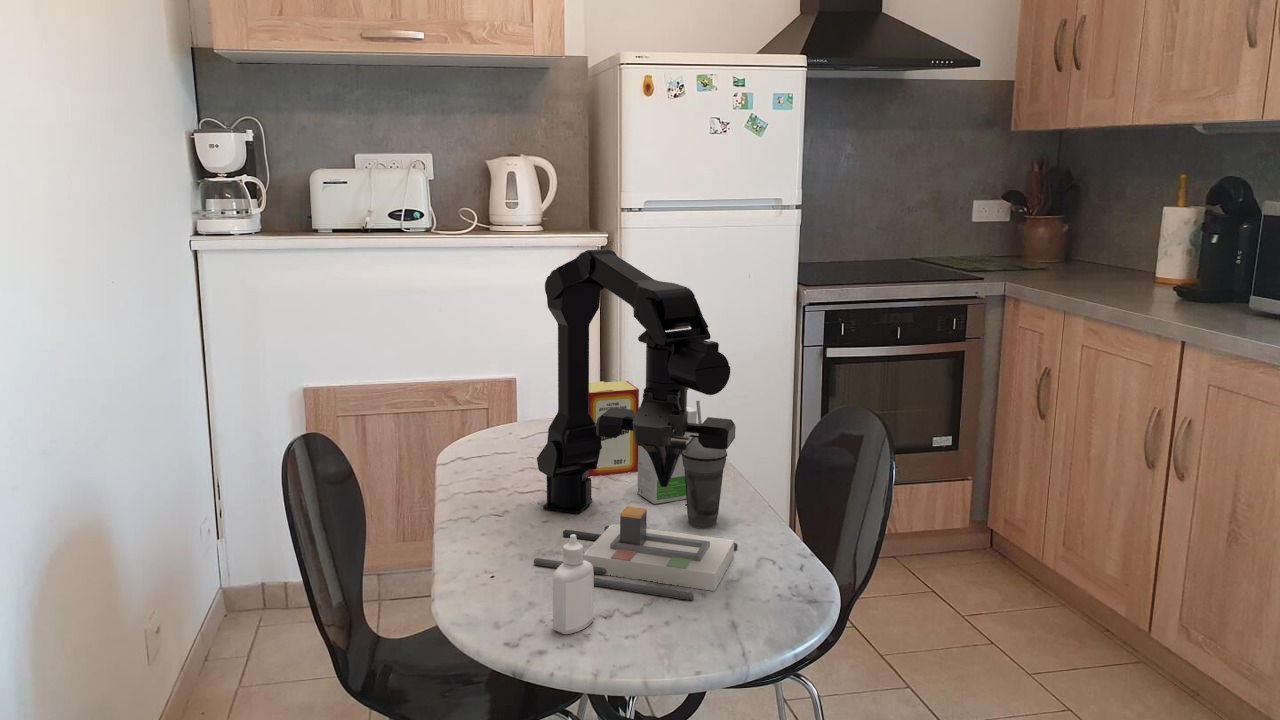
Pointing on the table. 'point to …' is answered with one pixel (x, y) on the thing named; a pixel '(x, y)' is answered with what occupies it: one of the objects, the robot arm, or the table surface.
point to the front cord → (622, 584)
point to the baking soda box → (623, 449)
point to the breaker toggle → (633, 525)
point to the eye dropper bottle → (573, 590)
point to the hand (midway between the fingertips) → (664, 486)
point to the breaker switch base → (664, 558)
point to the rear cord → (594, 535)
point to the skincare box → (649, 480)
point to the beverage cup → (703, 481)
